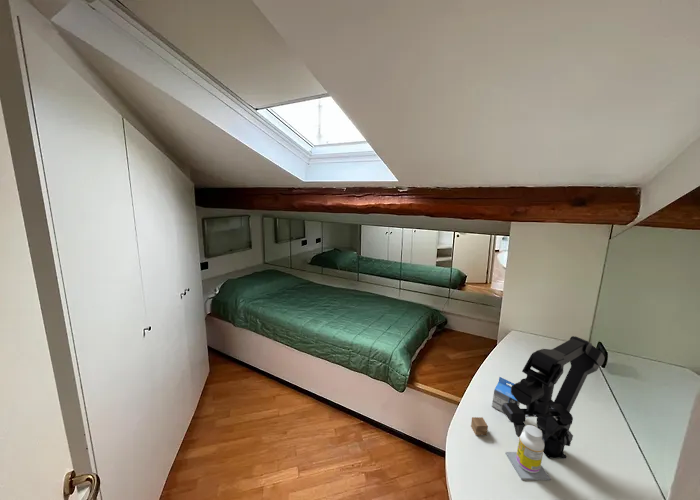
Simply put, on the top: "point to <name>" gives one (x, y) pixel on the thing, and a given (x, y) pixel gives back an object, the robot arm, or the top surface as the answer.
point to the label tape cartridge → (503, 394)
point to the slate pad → (524, 474)
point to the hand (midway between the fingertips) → (532, 436)
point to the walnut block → (479, 426)
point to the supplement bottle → (530, 449)
